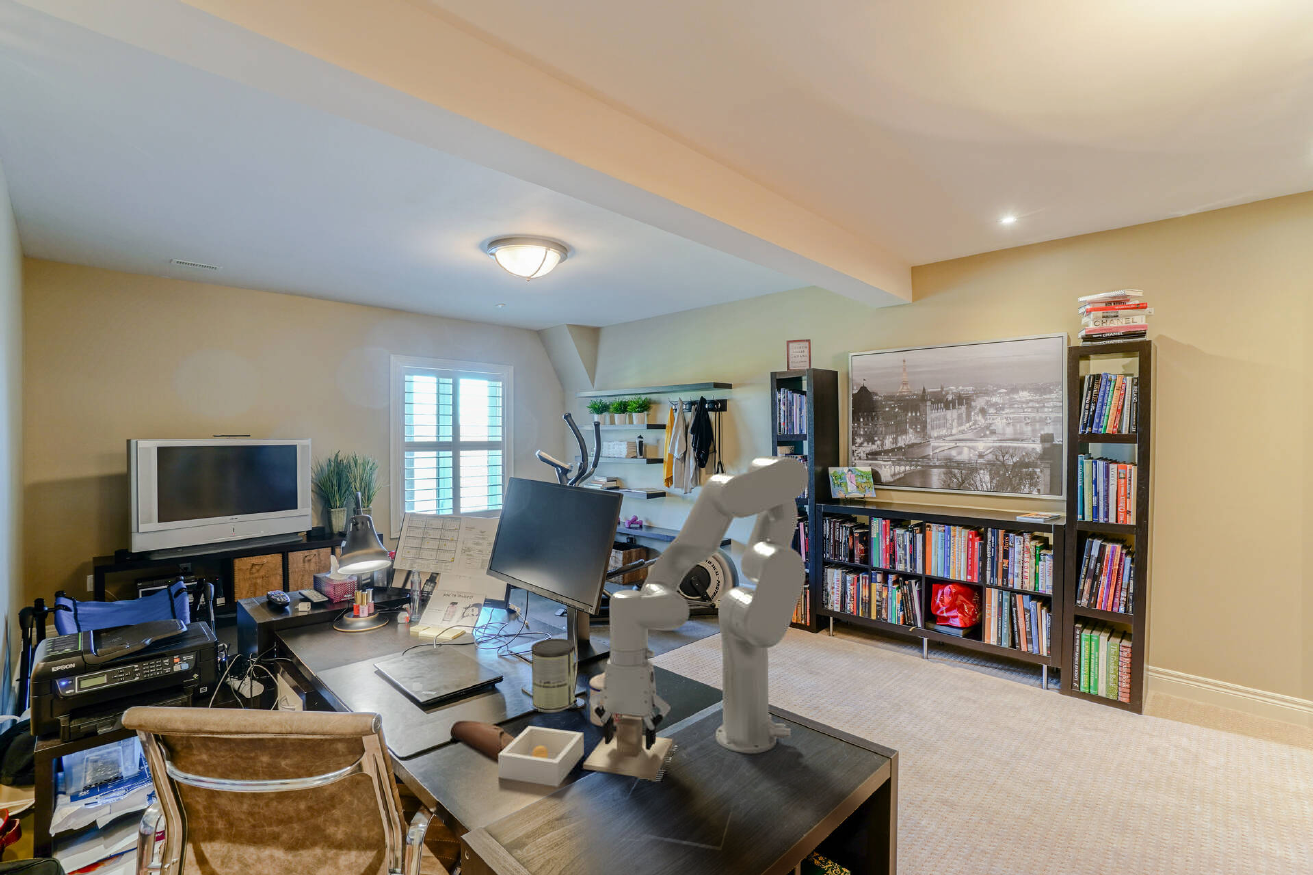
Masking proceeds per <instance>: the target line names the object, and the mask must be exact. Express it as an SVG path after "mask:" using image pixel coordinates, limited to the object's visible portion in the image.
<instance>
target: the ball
mask: <svg viewBox="0 0 1313 875" xmlns="http://www.w3.org/2000/svg"><path fill="white" fill-rule="evenodd" d="M532 756H533V757H540V758H547V756H548V751H547V749H546V748H545V747H544V746H537V747H536V748H535V749H534V750H533V753H532Z"/></svg>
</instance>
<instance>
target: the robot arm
mask: <svg viewBox="0 0 1313 875" xmlns="http://www.w3.org/2000/svg"><path fill="white" fill-rule="evenodd" d="M809 477H810V476H809V472H808V469H807V468H806V465H805V464H803V462H802V461H800V460H799V459H796V458H794V457H791V456H790V457H789V456H775V455H764V456H758V457H755V459H753V460H751V462H750V463H749V465H748V468H747V470H746V472H744V473H739V474H733V473H725V472H724V473H716V474H713V475H711V477H709V478H708V479H707V480H706V481H705V484H704V485H703V487H702V489H701V490H700V493H699V494H698V497H697V499H696V500H695V502H694V505H693V507H692V508H691V510H690V512H689V514H688V516H687V518H686V520H685V522H684V523H683V526H682V527H681V529H680V531H679V533H678V534H677V535H676V537H675V538H674V539H673V540H672V541H671V542H670V543H669V545H668V546H667V547H666V548H665V549H664V550H663V551H662V552H661V554H660V555H659V556H658V558H657V559H656V561H655V562H654V564H652V567H651V569H650V571H649V572H648V574H647V576H646V578H645V580H644V583H643V585H642V587H641V589H640V591H639V590H634V589H626V590H619V591H615V592H614V593H613V594H612V595H611V596H610V599H609V658H608V659H607V662H606V666H605V670H604V673H605V676H604V684H603V690H602V691H600V692H599V693H597V694H595V695H594V696H592V697H591V698H590V697H589V700H588V701H589V704H591V706H592V707H593V709H594V710H595V713H596V714H597V715H598V717H599V718H600V719H601V723H603V726H602V737H603V738H604V737H605V744H609V743H610V742H611V740H612V739H613V738H614V732H615V731H614V730H615V728H614V727H615V726H614V720H613V718H612V717H611V715H612V714H613V713H614V714H622V715H629V716H633V717H641V718H642V720H643V721H644V722H645V724H646V725H647V727H646V729H645V736H646V749H647V750H650V748H651V747H652V745H653V744H655V742H656V737H657V726H658V725H659V724H660V723H661V722H662V721H663V720H664V718H665V717H666V716H667V714H668V713H669V712H670V710H671V706H670V705H669V704H668V702H666V701H665V700H663V699H662V698H661V697H660V696H659V695H657V685H656V677H655V670H654V664H653V661H652V660H651V659H654V658H655V656H656V651H654V650H651V649H650V646H649V645H648V642H649V641H648V638H649V634H648V630H654V631H655V630H657V631H674V630H677V629H679V628H681V627H682V626H684V625H685V624H686V623H687V621H688V619H689V616H690V607H689V603H688V602H687V600H686V599H685V597H683V596H682V594H680V593H679V592H678V589H679V587H680V584H681V583H682V581H683V579H684V578H685V577H686V576H687V574H688V573H689V572H690V571H691V570H692V569H693V568H694V567H695V566H697V565H699V564H700V563H703V562H706V561H707V560H708V559H710V558H712V557H713V556H715V555H716V553H718V552H717V551H718V550H719V548H720V546H721V543H722V542H723V539H724V538H725V535H726V533H727V531H728V529H730V526H731V524H732V522H733V520H734V518H735V519H737V518H738V519H742V518H749V517H751V516H755V515H756V519H755V522H754V525H753V528H752V531H751V534H750V537H749V538H748V542H747V545H746V547H745V550H744V552H743V556H742V558H741V561H740V568H741V572H742V574H743V576H744V577H745V578H746V579H747V580H749V581H750V582H752V583H753V584H755V585H756V586H755V588H754V589H752V588H749V587H746V586H736V587H733V588H730V589H729V590H728V591H726V592H725V593H724V594H723V595H722V598H721V599H720V602H719V605H718V612H717V613H718V623H719V630H720V635H721V648H722V649H721V651H722V725H720V726H719V727H718V728H717V729H716V731H715V740H716V742H717V743H718V744H719V745H721V747H722V748H723V747H724V748H726V749H727V750H729V751H732V752H736V753H744V754H745V753H746V754H760V753H764V752H767V751H770V750H772V749H773V748H774V747H775V746H776V745H777V738H781V739H787V740H790V739H791V737H792V736H791V734H792V733H791V731H792V730H791V728H787V727H786V726H787V725H786V724H785V723H775V721H772V714H769V651H768V649H769V648H772V647H775V646H777V645H778V644H779V643H780V642H781V641H782V640H783V639H784V638H785V635H786V633H788V630H789V626H790V624H791V622H792V619H793V616H794V614H795V612H796V611H795V610H796V608H797V606H798V602H799V600H800V597H801V594H802V591H803V588H804V586H805V580H806V565H805V563H804V562H805V561H804V560H803V558H802V556H801V555H800V554H799V553H798V552H797V550H795V549H794V548H791V545H792V542H793V540H794V535H795V532H796V528H797V524H798V516H799V515H798V514H799V512H798V507H797V503H796V500H795V499H797V498H798V497H800V496H801V495H802V494H803V493H804V492H805V490H806V488H807V486H808V484H809ZM602 698H603V706H602V705H600V702H599V700H601V699H602ZM656 707H657V708H659V710H660V712H659V713H658V714H657V715H656V714H655V712H654V710H653V709H654V708H656Z"/></svg>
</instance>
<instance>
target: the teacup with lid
mask: <svg viewBox="0 0 1313 875" xmlns="http://www.w3.org/2000/svg"><path fill="white" fill-rule="evenodd" d="M604 676H605V672H603V673H601V674H597V675H595V676H593V677H591V679H590V680H589V684H588V687H589V691H590V692H589V699H590V698H591V697H592V696H594V695H595V694H597V693H599V692H600V691H602V690H603V684H604ZM599 702H600V705H602V706H603V698H602V699H601V700H599ZM589 704H590V703H589ZM589 707H590V708H589V709H590V710H589V711H590V714H589V715H590V722H591V723H592V724H593V725H596V726H599V727H603V723H601V719H600V718H599V717H598V715H597V714H596V713H595V710H594V709H593V707H592V706H591V704H590V705H589ZM622 716H623V715H622V714H614V713H613V714H612V715H611V717H612V718H613V720H614V727H617V723H618V722H619V720H620V719H621V718H622ZM625 716H630V715H625Z"/></svg>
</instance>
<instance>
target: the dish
mask: <svg viewBox="0 0 1313 875" xmlns="http://www.w3.org/2000/svg"><path fill="white" fill-rule="evenodd" d="M584 737H585V736H584V732H578V731H572V730H571V731H570V730H562V729H557V728H556V729H555V728H548V727H542V726H541V727H540V726H535V725H534V726H532V725H528V726H527V727H526V728H525V729H524V730H523V731H522V732H521V733H519V734H518V736H516V737H514V738H515V739H514V740H513V741H512V742H511V743H510V744H509V745H508V746H507V747H506V748H505V749H504V750H502V751H501V752H500V753H499V754H498V763H497V764H498V765H497V766H498V767H497V769H498V772H497V776H498V778H499V779H506V780H513V781H518V782H525V783H531V784H538V785H545V786H549V787H550V786H551V787H557V788H558V787H559V786H560V785H561V783H562V782H564V780H565V778H566V777H567V776H568V775H569V773H571V771H572V770H573V768H574V767H575V766H576V765H577V764H578V762H579V761H580V760H581V759H582V757H583V756H584V754H585V752H584V751H585V750H584V748H585V746H584V745H585V744H584V741H585V740H584ZM537 746H544V747H545V748H546V749H547V751H548V756H547V758H540V757H533V756H532V753H533V750H534V749H535V748H536V747H537Z"/></svg>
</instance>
